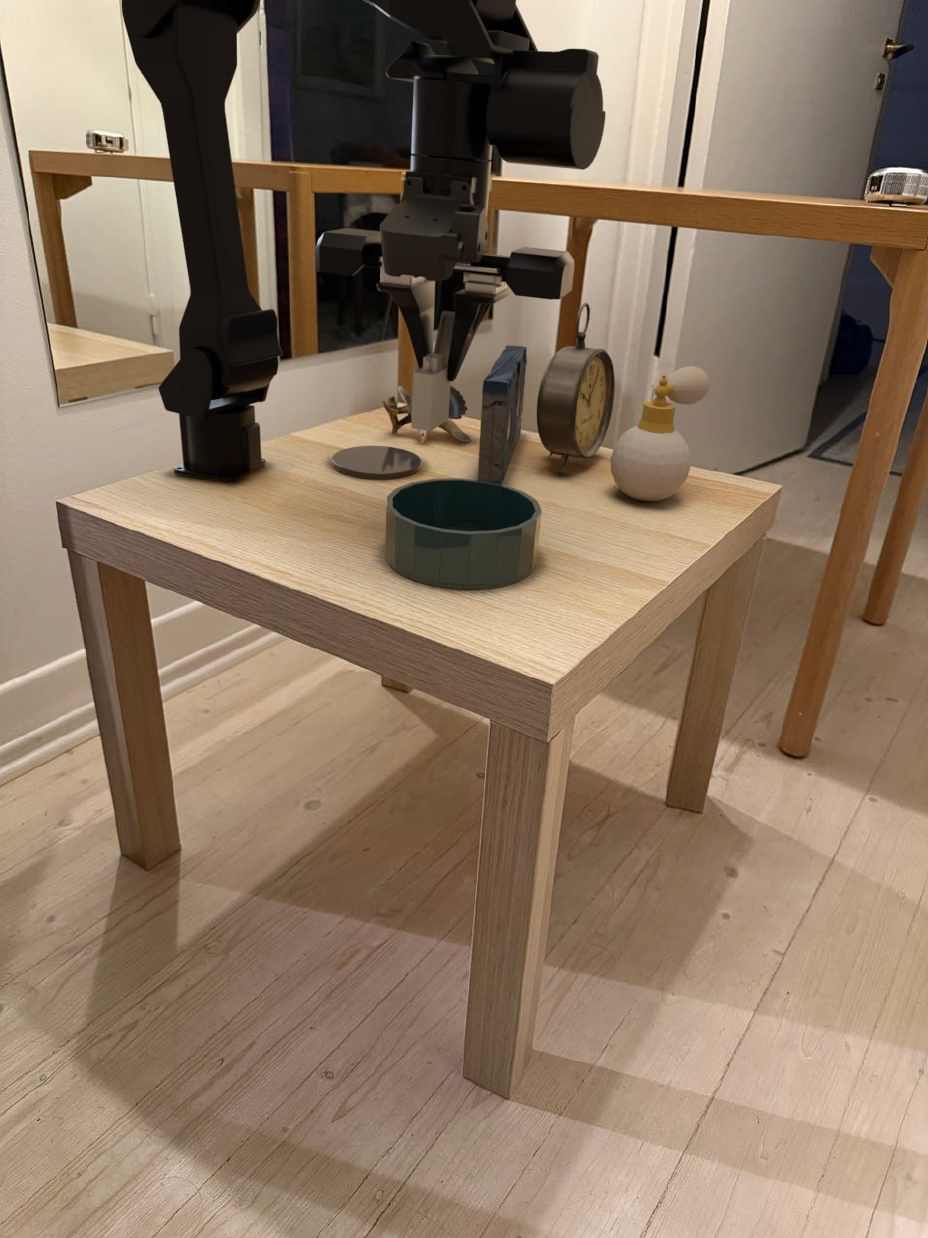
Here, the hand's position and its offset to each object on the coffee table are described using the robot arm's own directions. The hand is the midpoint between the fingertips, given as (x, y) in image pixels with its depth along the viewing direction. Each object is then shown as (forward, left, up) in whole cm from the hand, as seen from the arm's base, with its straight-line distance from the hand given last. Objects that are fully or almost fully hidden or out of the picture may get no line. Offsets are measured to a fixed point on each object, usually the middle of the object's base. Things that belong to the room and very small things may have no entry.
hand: (438, 378), depth 72 cm
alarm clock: (+8, +23, -13) cm, 27 cm away
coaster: (-10, +14, -13) cm, 21 cm away
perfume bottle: (+17, +17, -13) cm, 27 cm away
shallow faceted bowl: (+4, -5, -13) cm, 14 cm away
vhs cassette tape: (+1, +22, -13) cm, 25 cm away
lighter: (0, 0, -3) cm, 3 cm away
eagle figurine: (-8, +25, -13) cm, 29 cm away
